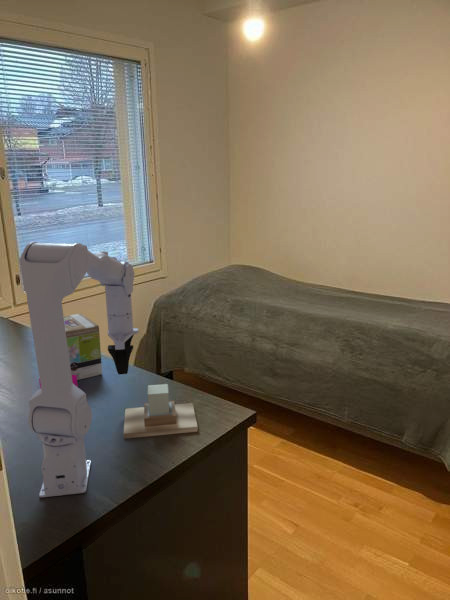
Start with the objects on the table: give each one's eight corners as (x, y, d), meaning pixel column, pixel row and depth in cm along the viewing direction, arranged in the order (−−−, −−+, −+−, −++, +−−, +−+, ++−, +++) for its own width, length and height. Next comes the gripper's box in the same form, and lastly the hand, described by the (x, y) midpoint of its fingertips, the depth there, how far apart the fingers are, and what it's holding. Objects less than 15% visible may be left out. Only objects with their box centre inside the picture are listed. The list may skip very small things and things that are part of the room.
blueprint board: (197, 431, 104) (197, 418, 103) (123, 438, 101) (122, 424, 100) (192, 407, 114) (192, 395, 113) (125, 413, 112) (124, 400, 111)
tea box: (103, 374, 133) (99, 324, 129) (68, 383, 127) (62, 332, 123) (85, 357, 145) (81, 311, 141) (52, 365, 139) (47, 317, 135)
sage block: (169, 413, 105) (168, 392, 104) (148, 414, 104) (147, 394, 103) (168, 403, 109) (167, 383, 108) (149, 405, 109) (147, 385, 107)
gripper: (136, 321, 102) (140, 378, 106) (137, 303, 116) (140, 354, 120) (103, 323, 101) (108, 380, 105) (108, 304, 115) (112, 356, 118)
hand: (123, 366), depth 112 cm, fingers open, 7 cm apart
